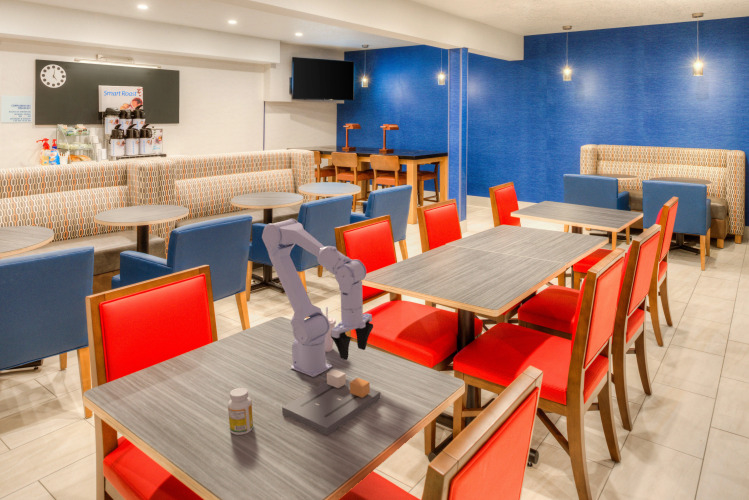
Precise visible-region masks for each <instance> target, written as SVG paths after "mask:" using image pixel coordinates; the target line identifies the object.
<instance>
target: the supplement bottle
mask: <svg viewBox="0 0 749 500" xmlns="http://www.w3.org/2000/svg"><path fill="white" fill-rule="evenodd" d="M229 398H230V399H229V401H228V402H227V410H228V411H227V412H228V423H229V431H230V433H232V434H234V435H235V436H241V435H242V436H243V435H246V434H249V433H250V432H251V431H252V430H253V427H254V417H253V416H254V415H253V404H252V399H251V398H250V397H249V391H248V389H247V388H245V387H237V388H234V389H232V390H231V391H230V393H229Z"/></svg>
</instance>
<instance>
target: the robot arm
mask: <svg viewBox="0 0 749 500" xmlns="http://www.w3.org/2000/svg"><path fill="white" fill-rule="evenodd" d="M261 239H262V241H263V243H264V245H265V248H266V251H267V254H268V258H269V259H270V262H271V264H272V267H273V268H274V270H275V271H274V272H275V274H276V275H277V277H278V279H279V282H280V284H281V286H282V288H283V291H284V293H285V295H286V296H287V300H288V301H289V304H290V306H291V308H292V310H293V315H292V317H291V319H290V325H291V327H292V333H293V334H292V335H293V337H294V338H295V339H294V340H293V342H292V345H291V352H292V353H291V355H292V365H291V366H290V368H291V369H292V370H295V371H297V372H299V373H303V374H304V375H307V376H310V377H313V378H315V377H317V376H318V375H320V374H322V373H324V372H326V371H328V370H329V369H331V368H333V364H330V363H327V362H326V360H327V358H326V352H325V338H326V333H327V332H328V331H329V329H330V324H329V321H328V319H327V317H326V314H324V313H323V311H322V309H321V308H320V307H318V306H316V305H314V304H313V303H312V301H311V299H310V297H309V295H308V293H307V290H306V288H305V286H304V284H303V282H302V279H301V277H300V275H299V273H298V271H297V269H296V267H295V264H294V262H293V259H292V258H291V251H292V249H293V248H294V246H295V245H297V246H299V247H301V248H302V249H303V250H305V251H307V252H309V253H310V254H311V255H313V256H315V257H316V259H317V264H319V265H320V266H321V267H323V268H324V269H326V270H327V271H328V272H330V273H331V274H333V275H334V276H335V277H334V278H335V280H336V282H337V284H338V288H339V289H338V290H339V292H340V312H341V313H340V317H341V321H340V322H338V324H337V325H335V328H333V329H331V338H332V339H333V343H334V344H335V346H336V348H337V351H338V354H339V357H340V359H342V360H346V361H347V360H348V359H349V350H350V349H349V347H350V343H351V340H352V337H351V336H348V334H347V333H348V332H350V331H352V330H355V334H356V342H357V343H356V344H357V348H358V349H359V350H363V351H364V350H366V348H367V343H368V340H369V336H370V335H371V332H372V330H373V328H374V324H373V323H370V322H372V321H373V315H372V314H371V313H363V311H364V309H363V280H364V279H365V278H366V275H367V268H366V266H365V264H364V263H363V262H362V260H360V259H351V258H350V257H349V256H346V255H345V254H343V253H342V252H340V251H339V250H338V249H337V247H336V246H332V245H326V246H324V245H323V243H321V242H320V241H318V240H317V239H316V238H315V237H314V236H312V235H311V233H309V232H308V231H307V230H305V229H304V226H303V224H302V223H300V222H298V220H296V219H295V218H287V220H283V221H279V222H274V223H268V224H266V225H265V226H264V228H263V230H262V234H261Z"/></svg>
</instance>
